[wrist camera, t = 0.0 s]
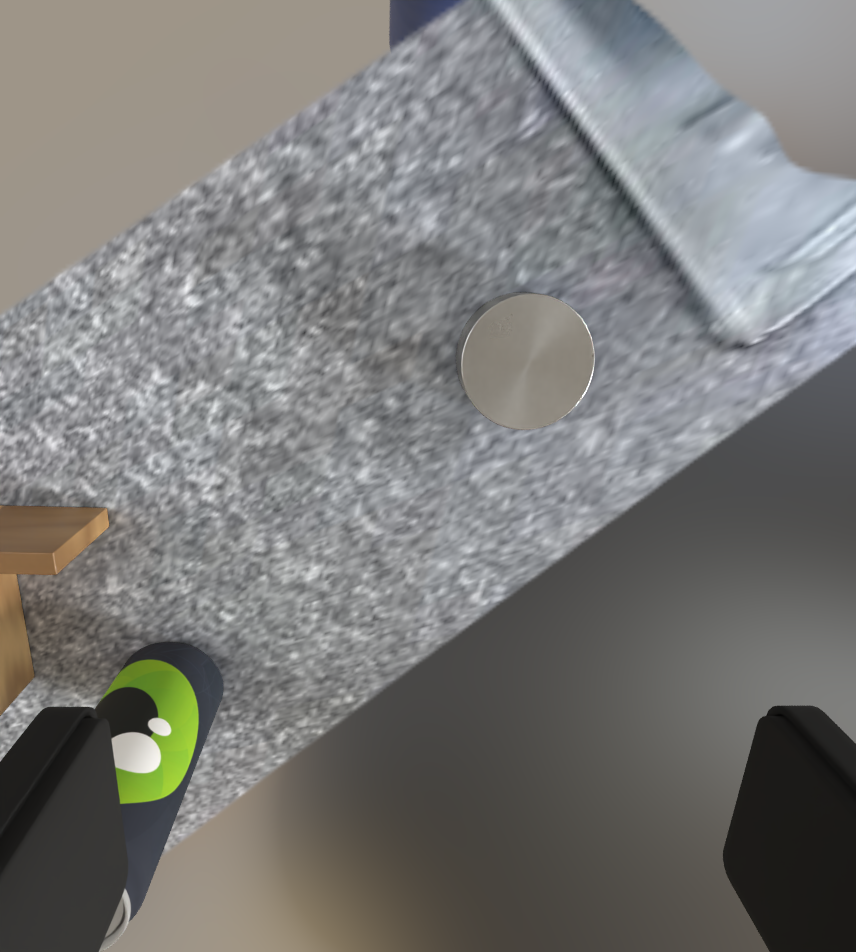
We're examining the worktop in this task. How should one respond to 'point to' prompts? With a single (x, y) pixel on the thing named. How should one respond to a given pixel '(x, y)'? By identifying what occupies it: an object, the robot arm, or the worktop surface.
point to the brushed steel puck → (525, 360)
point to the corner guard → (34, 552)
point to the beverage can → (155, 752)
